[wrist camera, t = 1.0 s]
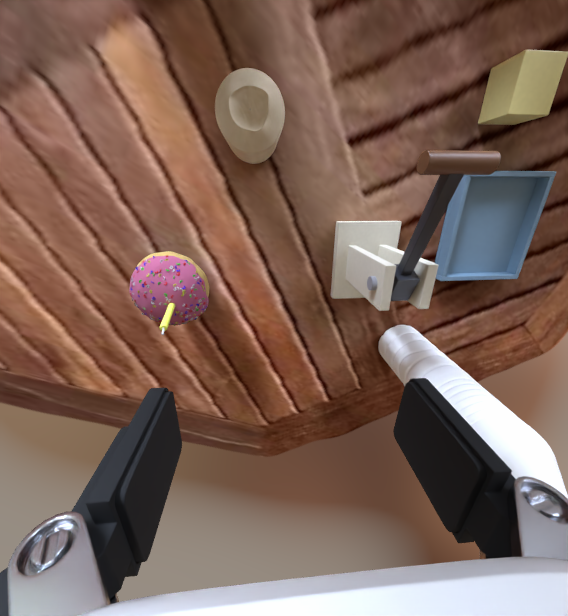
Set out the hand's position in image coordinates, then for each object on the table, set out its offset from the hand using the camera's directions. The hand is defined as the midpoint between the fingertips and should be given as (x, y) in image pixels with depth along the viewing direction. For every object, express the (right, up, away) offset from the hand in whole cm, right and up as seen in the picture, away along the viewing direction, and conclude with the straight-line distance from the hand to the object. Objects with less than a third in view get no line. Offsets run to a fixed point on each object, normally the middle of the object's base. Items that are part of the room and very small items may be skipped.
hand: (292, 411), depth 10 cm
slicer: (+10, +11, +25) cm, 29 cm away
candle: (-4, +23, +18) cm, 30 cm away
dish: (+26, +15, +24) cm, 39 cm away
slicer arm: (+11, +11, +12) cm, 20 cm away
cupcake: (-14, +8, +24) cm, 28 cm away
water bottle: (+18, -2, +31) cm, 36 cm away
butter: (+24, +28, +19) cm, 41 cm away
